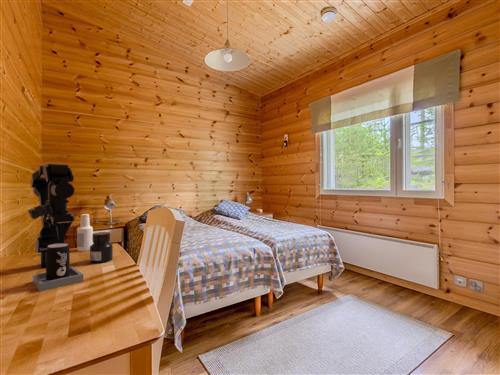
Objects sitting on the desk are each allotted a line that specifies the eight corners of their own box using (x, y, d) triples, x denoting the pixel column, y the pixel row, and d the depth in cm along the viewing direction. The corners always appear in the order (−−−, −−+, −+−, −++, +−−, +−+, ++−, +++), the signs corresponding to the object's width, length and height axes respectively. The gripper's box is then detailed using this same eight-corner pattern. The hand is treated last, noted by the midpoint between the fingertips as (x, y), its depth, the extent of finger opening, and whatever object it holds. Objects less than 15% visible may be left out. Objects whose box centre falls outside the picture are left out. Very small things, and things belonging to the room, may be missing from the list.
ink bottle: (86, 260, 115) (86, 233, 115) (107, 256, 122) (107, 230, 122) (94, 265, 109) (94, 236, 109) (116, 260, 116) (116, 233, 116)
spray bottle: (81, 248, 137) (81, 213, 137) (95, 247, 138) (95, 213, 137) (74, 251, 130) (74, 215, 130) (88, 251, 131) (88, 215, 130)
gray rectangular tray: (32, 281, 90) (32, 274, 90) (73, 273, 99) (73, 266, 99) (39, 291, 82) (39, 283, 82) (83, 281, 91) (83, 274, 91)
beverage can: (49, 284, 86) (49, 248, 86) (43, 280, 90) (43, 245, 90) (72, 278, 92) (72, 244, 91) (65, 274, 96) (65, 242, 95)
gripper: (25, 197, 99) (25, 238, 99) (35, 199, 86) (35, 246, 87) (61, 196, 107) (61, 234, 107) (74, 198, 95) (74, 241, 95)
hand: (57, 238), depth 99 cm, fingers open, 9 cm apart
